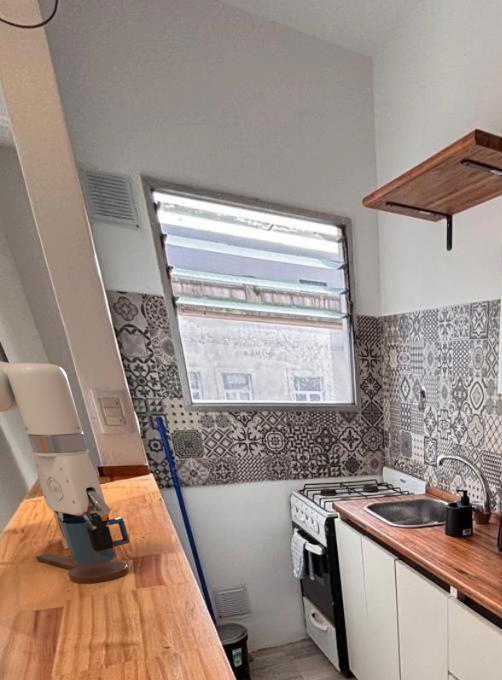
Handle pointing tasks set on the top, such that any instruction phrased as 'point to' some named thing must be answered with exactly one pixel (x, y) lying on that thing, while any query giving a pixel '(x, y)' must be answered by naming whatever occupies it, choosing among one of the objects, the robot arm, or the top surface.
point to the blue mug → (89, 541)
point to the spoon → (87, 569)
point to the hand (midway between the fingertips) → (91, 545)
